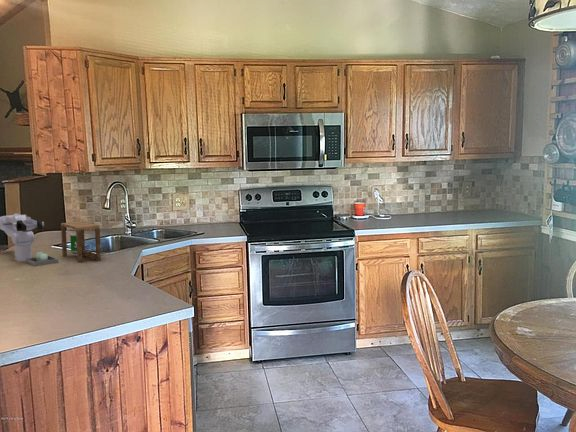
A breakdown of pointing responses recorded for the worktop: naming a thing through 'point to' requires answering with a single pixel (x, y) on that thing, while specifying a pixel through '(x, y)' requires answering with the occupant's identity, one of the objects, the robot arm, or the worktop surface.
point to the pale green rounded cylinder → (38, 256)
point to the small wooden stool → (81, 239)
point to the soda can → (73, 242)
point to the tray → (34, 261)
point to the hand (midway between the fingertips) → (33, 227)
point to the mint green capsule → (43, 257)
